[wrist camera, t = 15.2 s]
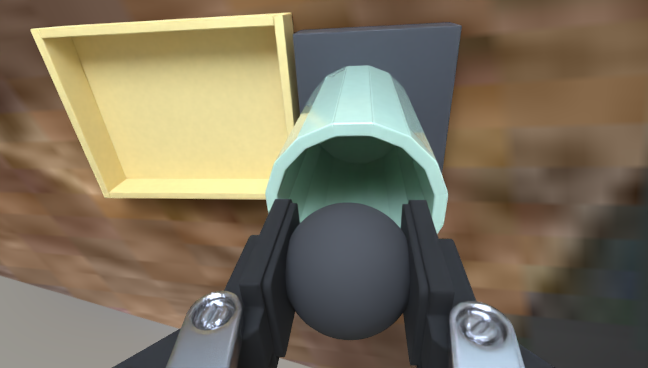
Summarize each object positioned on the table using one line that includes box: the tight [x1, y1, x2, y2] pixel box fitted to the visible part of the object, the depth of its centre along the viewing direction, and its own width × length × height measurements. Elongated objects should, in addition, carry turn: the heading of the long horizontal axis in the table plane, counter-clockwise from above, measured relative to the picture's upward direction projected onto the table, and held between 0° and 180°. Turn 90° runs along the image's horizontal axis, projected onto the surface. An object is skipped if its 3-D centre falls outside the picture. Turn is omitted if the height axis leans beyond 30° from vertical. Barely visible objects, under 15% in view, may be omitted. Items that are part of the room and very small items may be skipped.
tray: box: [31, 13, 300, 200], centre depth 25 cm, size 17×13×3 cm
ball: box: [285, 202, 410, 340], centre depth 10 cm, size 4×4×4 cm
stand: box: [293, 22, 462, 174], centre depth 24 cm, size 10×11×3 cm
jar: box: [265, 65, 448, 234], centre depth 18 cm, size 7×7×11 cm
